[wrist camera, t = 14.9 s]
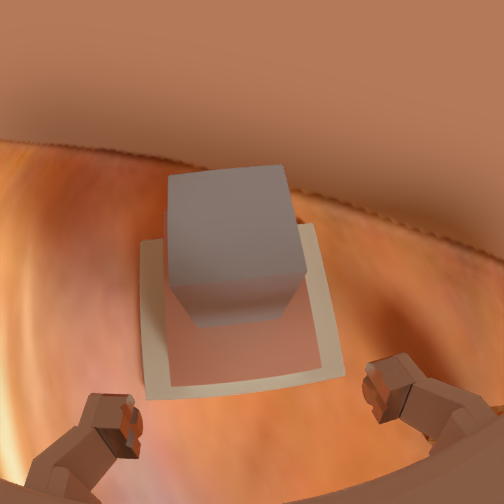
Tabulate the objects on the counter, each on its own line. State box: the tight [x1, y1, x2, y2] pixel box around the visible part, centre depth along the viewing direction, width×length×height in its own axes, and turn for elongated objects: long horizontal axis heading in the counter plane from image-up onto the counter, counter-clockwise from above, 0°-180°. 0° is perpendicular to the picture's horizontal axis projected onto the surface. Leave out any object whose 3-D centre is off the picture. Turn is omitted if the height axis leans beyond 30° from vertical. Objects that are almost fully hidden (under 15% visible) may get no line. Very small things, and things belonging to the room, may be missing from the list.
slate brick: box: [168, 165, 307, 328], centre depth 15 cm, size 5×5×8 cm
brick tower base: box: [140, 210, 346, 400], centre depth 23 cm, size 16×14×8 cm
